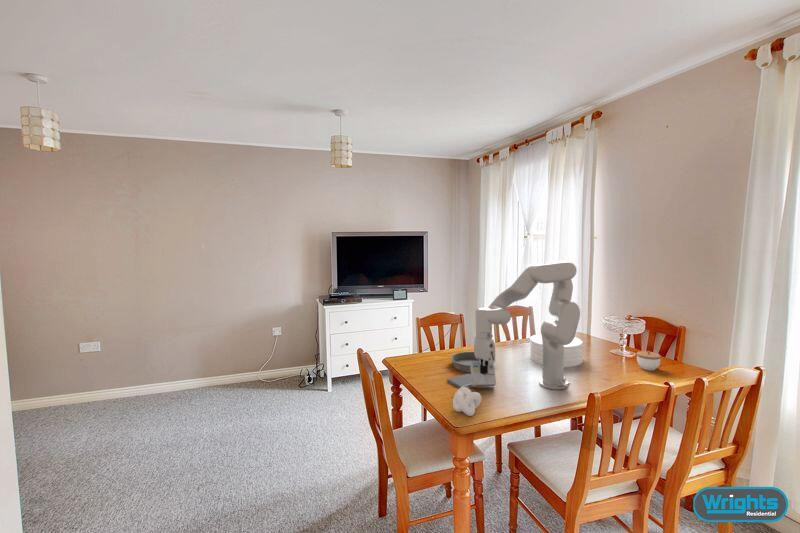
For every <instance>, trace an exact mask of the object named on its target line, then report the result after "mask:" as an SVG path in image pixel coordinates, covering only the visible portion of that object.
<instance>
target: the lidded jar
mask: <svg viewBox="0 0 800 533" xmlns="http://www.w3.org/2000/svg"><path fill="white" fill-rule="evenodd" d="M661 358H662V355H661V354H659V353H657V352H652V351H650V350H647V351H646V350H645V351H644V350H643V351H637V352H636V361H637V364H638V366H640V367H641V369H642V370H645V371H655V370H656V369H657V368H659V366H660V364H661Z"/></svg>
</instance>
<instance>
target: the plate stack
mask: <svg viewBox="0 0 800 533" xmlns="http://www.w3.org/2000/svg"><path fill="white" fill-rule="evenodd" d="M529 341H530V342H529V345H530V346H529V350H530V351H529V352H530V353H529V358H530V359H531V360H532V361H533V362H535V363H538V364H540V365H542V360H543V344H542V336H541V333H537V334H534V335H532V336H530V338H529ZM583 342H584V341H583V340H582V339H580V338H579V337H574V339H573V341H572V342H571V343H570V344H568V345H564V368H571V367H572V366H573V367H578V366H580V365H582V363H583ZM577 365H578V366H577Z"/></svg>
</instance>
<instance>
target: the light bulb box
mask: <svg viewBox="0 0 800 533" xmlns="http://www.w3.org/2000/svg"><path fill="white" fill-rule="evenodd" d="M494 363H495V362H494ZM494 363H492V364H489V365H488V373H486V374H481V373H480V364H479V362H472V363H471V364H470V369H471V372H470V374H471V378H472V387H471V388H487V387H488V388H489V387H491V388H493V387H495V386H496V385H497V379H496V373H495V372H496V371H495V364H494Z"/></svg>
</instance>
